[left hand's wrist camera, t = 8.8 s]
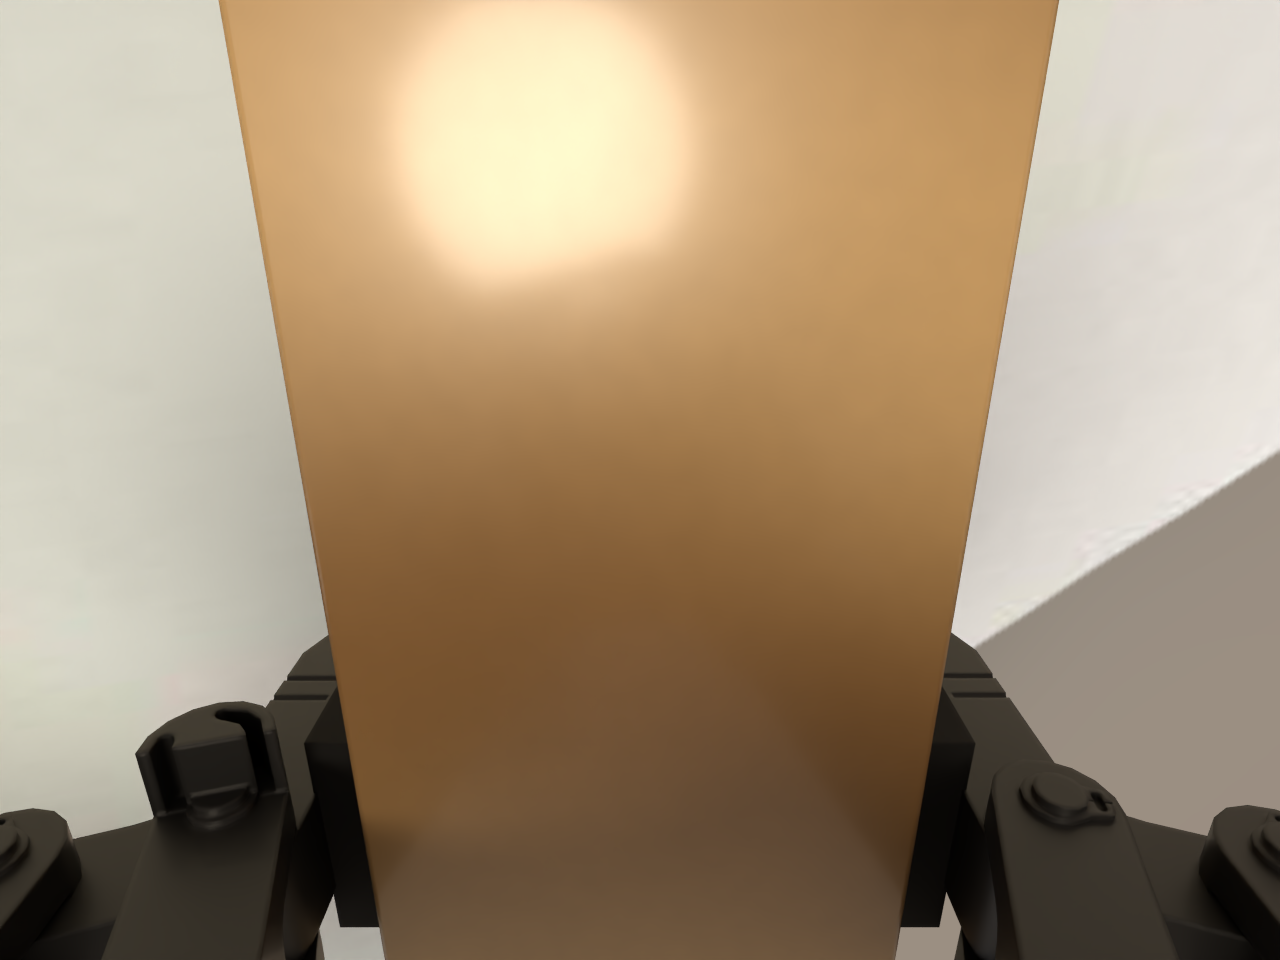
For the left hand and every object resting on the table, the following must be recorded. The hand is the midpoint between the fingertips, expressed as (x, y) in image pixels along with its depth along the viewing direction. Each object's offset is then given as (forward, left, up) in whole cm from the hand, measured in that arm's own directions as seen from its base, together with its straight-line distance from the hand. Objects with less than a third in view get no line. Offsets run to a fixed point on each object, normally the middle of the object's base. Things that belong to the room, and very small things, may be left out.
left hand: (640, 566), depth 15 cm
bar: (+24, +27, -1) cm, 36 cm away
